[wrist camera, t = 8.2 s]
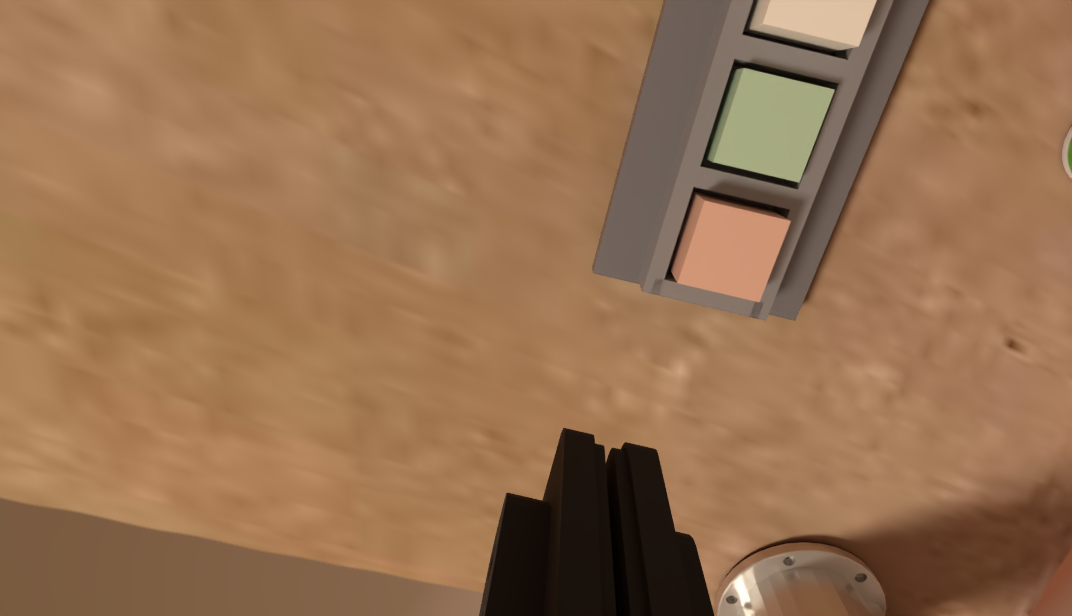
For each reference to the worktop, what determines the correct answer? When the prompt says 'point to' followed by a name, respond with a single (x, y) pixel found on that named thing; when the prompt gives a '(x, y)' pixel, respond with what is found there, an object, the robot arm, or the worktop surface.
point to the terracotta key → (727, 246)
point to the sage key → (767, 123)
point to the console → (679, 167)
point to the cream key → (812, 22)
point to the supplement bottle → (1067, 153)
